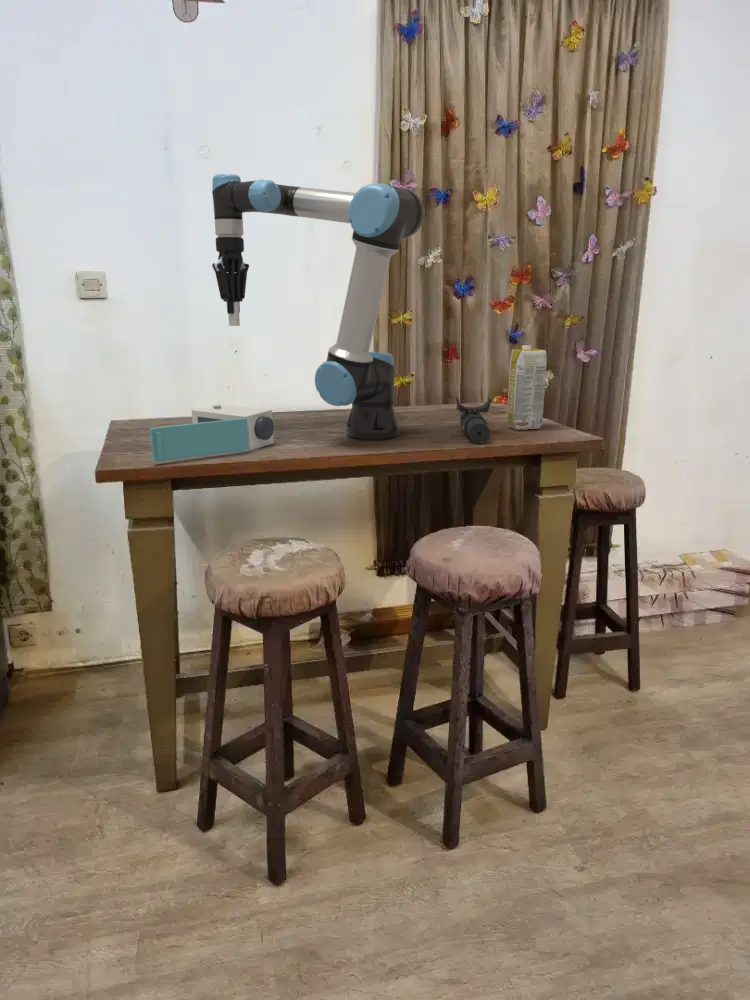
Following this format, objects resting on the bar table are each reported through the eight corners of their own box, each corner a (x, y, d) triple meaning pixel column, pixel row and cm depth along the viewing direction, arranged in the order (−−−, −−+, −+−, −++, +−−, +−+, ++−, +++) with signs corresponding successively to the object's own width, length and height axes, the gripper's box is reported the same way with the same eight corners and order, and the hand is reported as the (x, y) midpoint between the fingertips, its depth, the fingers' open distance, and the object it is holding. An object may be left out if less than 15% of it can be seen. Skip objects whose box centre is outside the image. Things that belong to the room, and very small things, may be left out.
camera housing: (278, 444, 193) (276, 408, 191) (251, 452, 184) (249, 415, 181) (222, 436, 203) (219, 401, 200) (193, 443, 194) (191, 407, 191)
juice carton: (532, 424, 218) (537, 343, 211) (544, 430, 211) (551, 346, 204) (503, 426, 216) (508, 344, 209) (515, 431, 209) (520, 347, 202)
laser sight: (460, 445, 194) (462, 407, 191) (452, 427, 215) (453, 394, 212) (497, 445, 194) (499, 407, 191) (485, 428, 215) (486, 394, 212)
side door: (248, 448, 185) (247, 417, 182) (251, 450, 183) (250, 418, 181) (152, 461, 172) (149, 428, 170) (154, 462, 171) (151, 429, 168)
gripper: (234, 238, 205) (239, 324, 212) (202, 236, 194) (208, 326, 201) (255, 237, 201) (259, 324, 208) (224, 235, 190) (229, 327, 197)
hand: (234, 325), depth 204 cm, fingers closed
